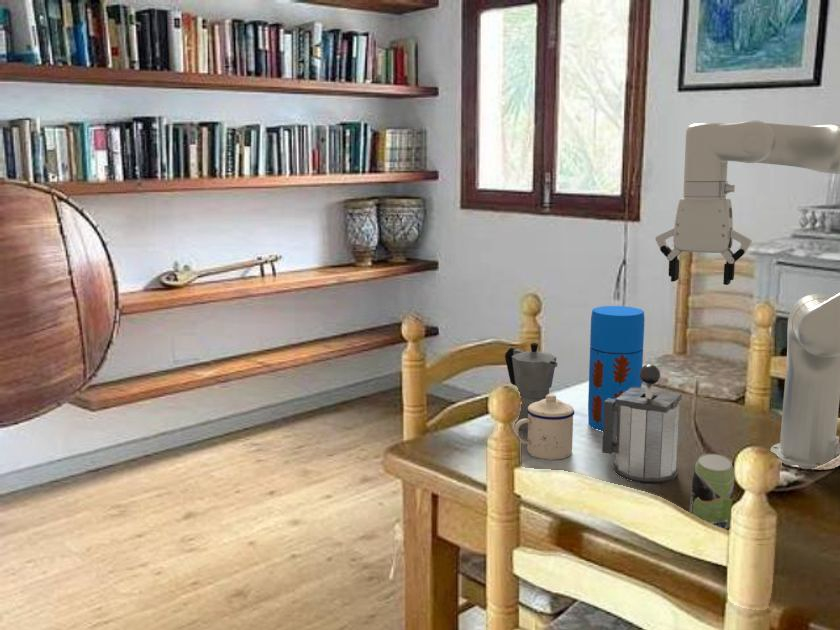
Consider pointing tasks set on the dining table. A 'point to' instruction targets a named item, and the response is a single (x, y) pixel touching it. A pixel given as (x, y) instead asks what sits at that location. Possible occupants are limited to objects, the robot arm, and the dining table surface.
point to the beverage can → (712, 489)
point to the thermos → (613, 356)
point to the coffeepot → (530, 376)
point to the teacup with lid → (548, 428)
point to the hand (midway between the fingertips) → (700, 282)
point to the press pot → (642, 434)
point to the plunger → (649, 378)
